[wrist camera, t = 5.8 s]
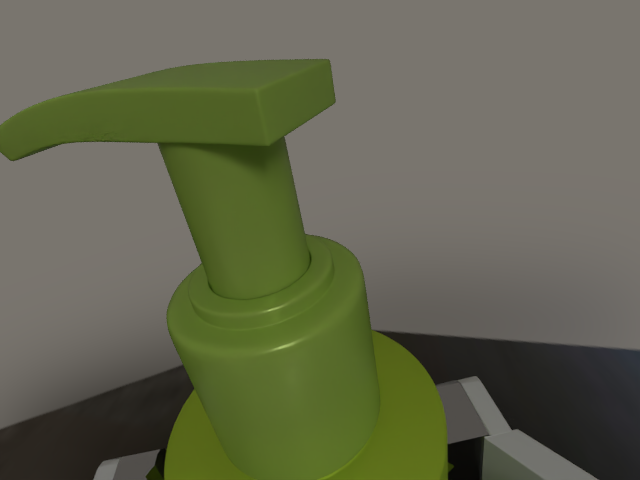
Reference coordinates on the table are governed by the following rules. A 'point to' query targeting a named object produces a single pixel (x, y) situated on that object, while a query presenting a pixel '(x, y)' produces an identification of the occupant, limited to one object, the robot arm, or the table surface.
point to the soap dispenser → (259, 283)
